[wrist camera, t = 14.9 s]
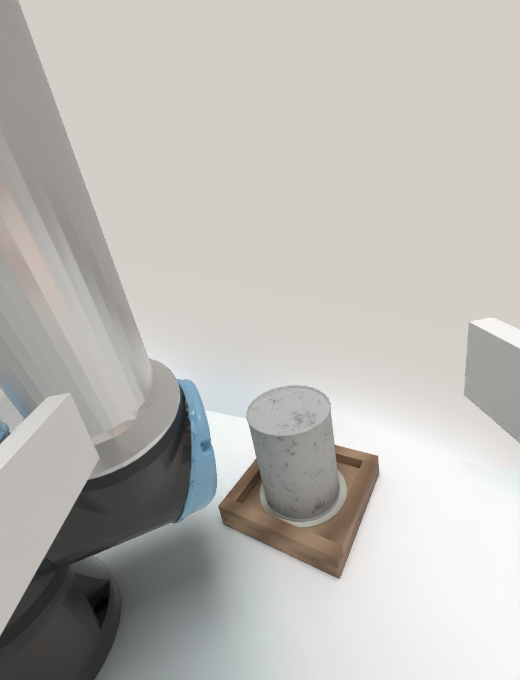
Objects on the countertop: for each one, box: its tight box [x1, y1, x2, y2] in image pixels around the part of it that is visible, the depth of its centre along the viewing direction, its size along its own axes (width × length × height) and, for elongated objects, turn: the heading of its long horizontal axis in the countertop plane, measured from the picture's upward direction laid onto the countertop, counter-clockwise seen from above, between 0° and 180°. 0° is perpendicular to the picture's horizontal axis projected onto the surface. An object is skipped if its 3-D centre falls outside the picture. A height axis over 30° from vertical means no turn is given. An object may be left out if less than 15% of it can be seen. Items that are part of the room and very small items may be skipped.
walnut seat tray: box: [219, 445, 379, 579], centre depth 43 cm, size 15×15×3 cm
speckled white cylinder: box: [247, 385, 340, 522], centre depth 41 cm, size 10×10×12 cm
